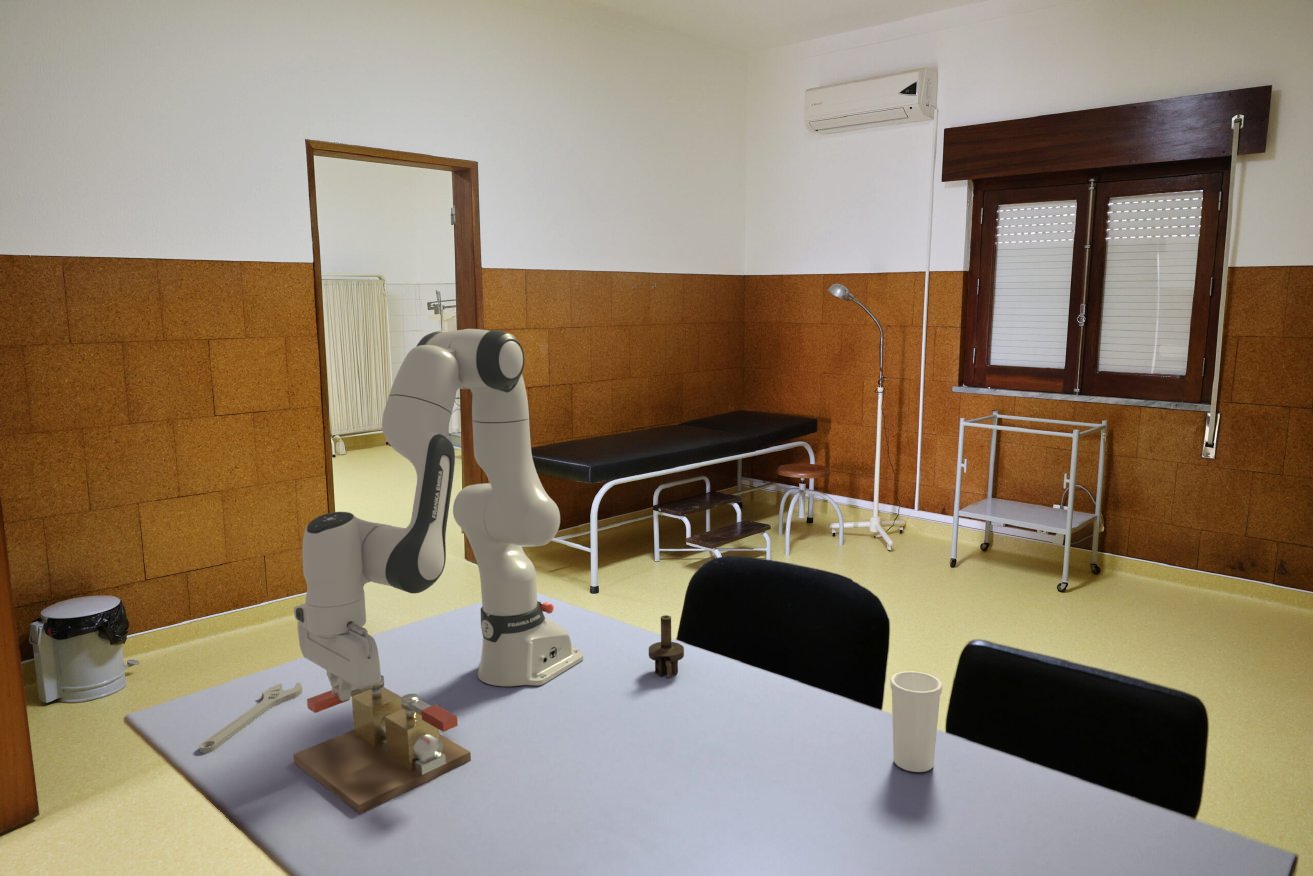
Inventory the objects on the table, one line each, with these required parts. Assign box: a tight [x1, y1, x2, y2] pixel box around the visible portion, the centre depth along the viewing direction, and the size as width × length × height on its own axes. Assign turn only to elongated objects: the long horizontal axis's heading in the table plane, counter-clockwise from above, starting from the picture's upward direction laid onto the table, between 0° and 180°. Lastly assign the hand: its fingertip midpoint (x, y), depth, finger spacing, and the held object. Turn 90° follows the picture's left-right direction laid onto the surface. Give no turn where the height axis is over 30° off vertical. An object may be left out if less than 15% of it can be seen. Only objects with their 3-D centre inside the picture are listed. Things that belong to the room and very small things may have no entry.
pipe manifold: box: [351, 686, 459, 775], centre depth 142 cm, size 6×28×10 cm, turn 47°
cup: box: [889, 670, 944, 773], centre depth 138 cm, size 8×8×14 cm
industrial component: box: [648, 614, 685, 679], centre depth 175 cm, size 9×7×12 cm
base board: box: [292, 729, 472, 814], centre depth 143 cm, size 20×22×2 cm
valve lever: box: [306, 674, 385, 714], centre depth 144 cm, size 13×3×2 cm, turn 137°
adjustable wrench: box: [199, 682, 303, 754], centre depth 159 cm, size 25×6×2 cm, turn 163°
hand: (341, 697), depth 138 cm, fingers closed
